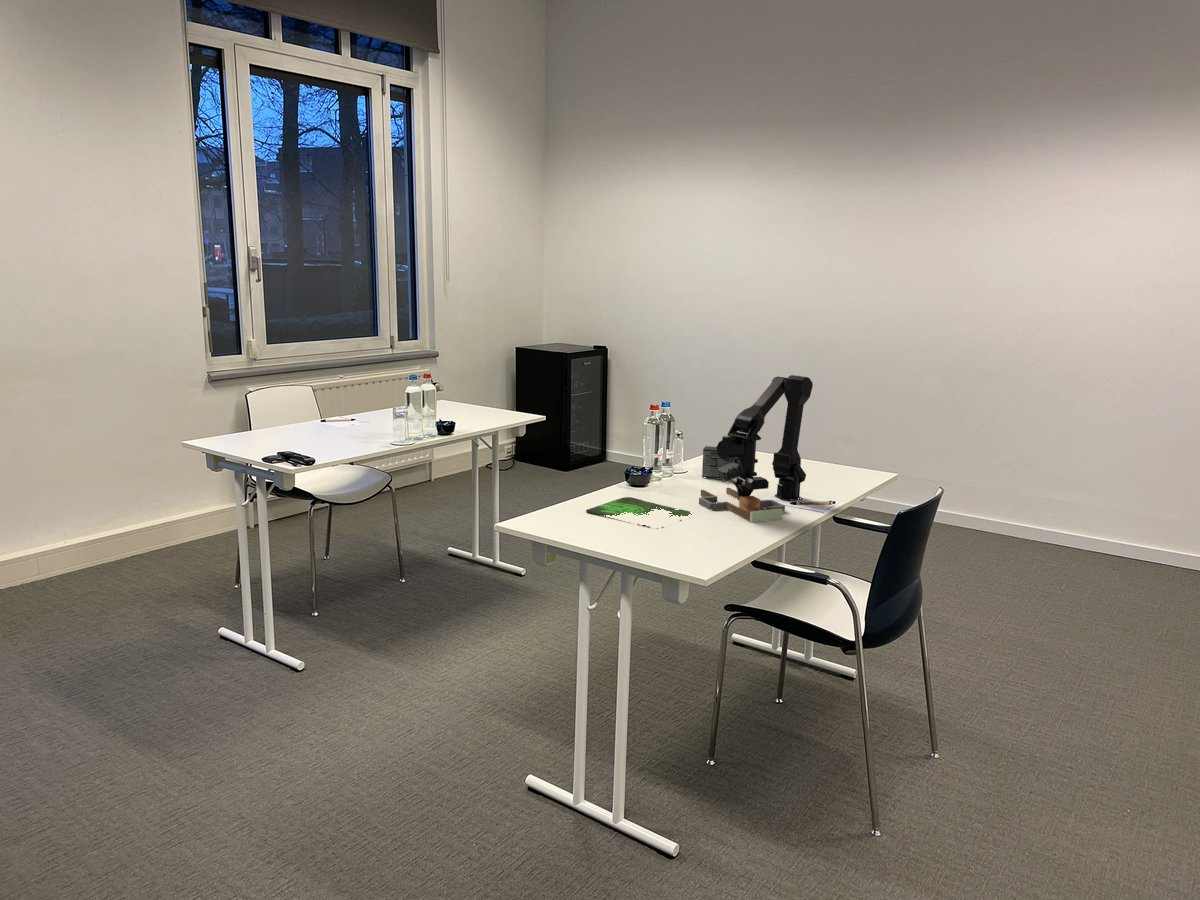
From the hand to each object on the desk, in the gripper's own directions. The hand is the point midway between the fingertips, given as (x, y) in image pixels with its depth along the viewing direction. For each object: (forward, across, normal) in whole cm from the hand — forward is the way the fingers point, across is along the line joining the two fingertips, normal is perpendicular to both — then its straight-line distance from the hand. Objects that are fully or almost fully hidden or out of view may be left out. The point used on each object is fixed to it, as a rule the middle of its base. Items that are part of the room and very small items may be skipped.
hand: (742, 504), depth 273 cm
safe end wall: (+1, +13, 0) cm, 13 cm away
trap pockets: (+1, -1, 0) cm, 2 cm away
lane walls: (+1, -2, 0) cm, 3 cm away
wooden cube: (+1, +4, 0) cm, 4 cm away
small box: (+2, -38, +13) cm, 41 cm away
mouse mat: (+2, -5, -32) cm, 32 cm away
